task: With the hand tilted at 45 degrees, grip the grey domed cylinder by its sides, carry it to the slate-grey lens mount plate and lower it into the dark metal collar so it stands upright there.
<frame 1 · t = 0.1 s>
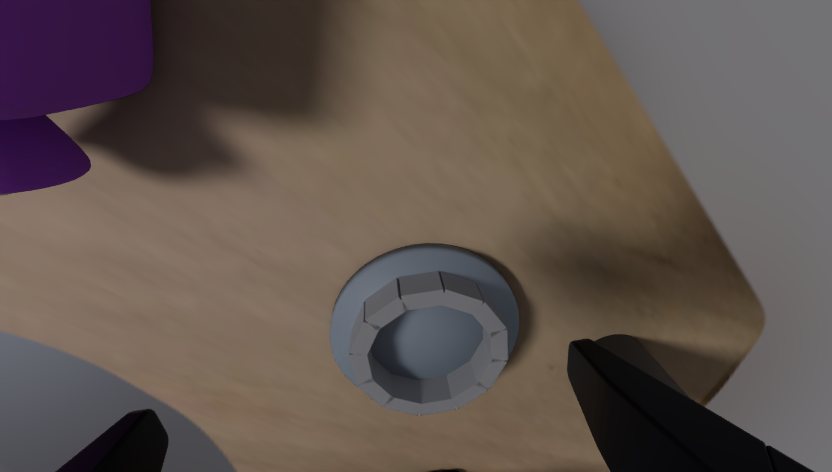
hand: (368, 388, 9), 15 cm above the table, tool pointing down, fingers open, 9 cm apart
grey domed cylinder: (609, 362, 30), on the table
toy camera: (53, 3, 17), on the table
lens mount: (424, 325, 27), on the table
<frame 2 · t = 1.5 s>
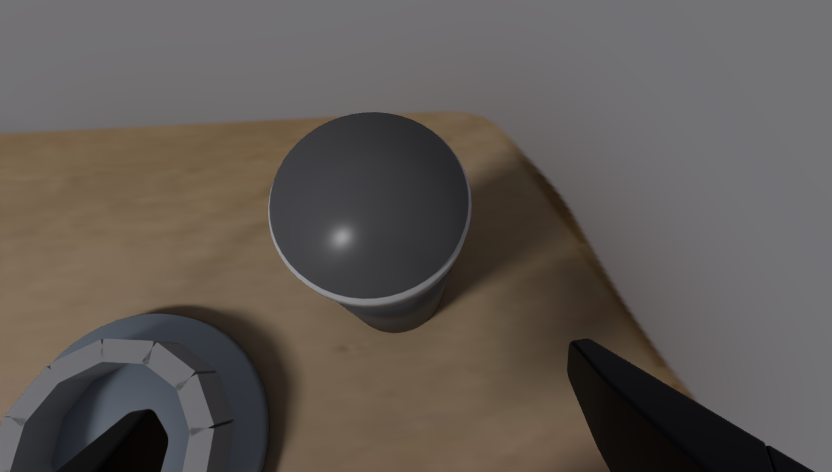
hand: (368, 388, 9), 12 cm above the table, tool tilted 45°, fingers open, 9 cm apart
grey domed cylinder: (395, 283, 22), on the table
lens mount: (146, 439, 20), on the table
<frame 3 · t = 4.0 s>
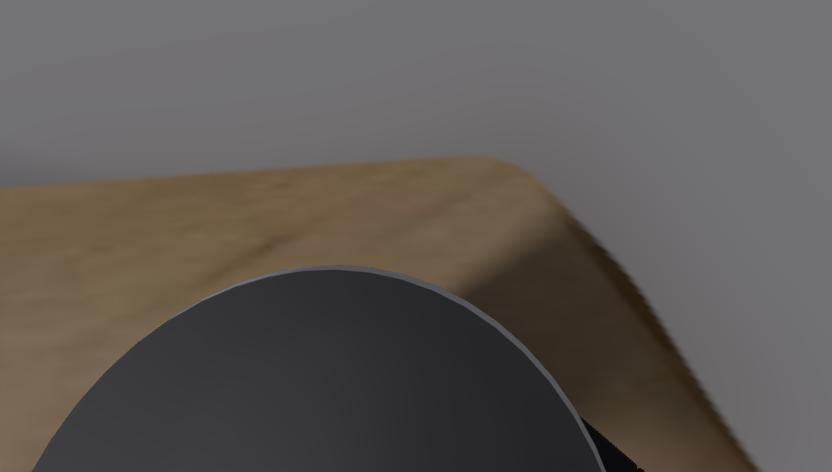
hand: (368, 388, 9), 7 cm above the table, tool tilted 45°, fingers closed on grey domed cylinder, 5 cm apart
grey domed cylinder: (395, 424, 15), on the table, touching gripper
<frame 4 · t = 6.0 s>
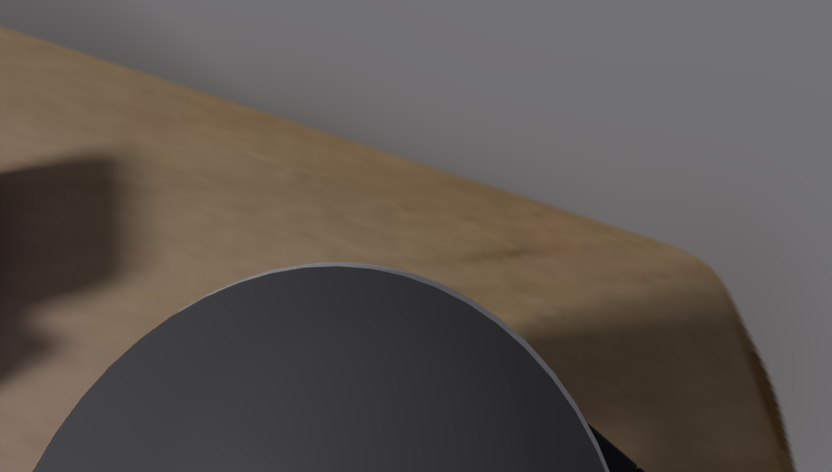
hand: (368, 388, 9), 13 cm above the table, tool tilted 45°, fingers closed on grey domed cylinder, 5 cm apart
grey domed cylinder: (395, 422, 15), point 7 cm above the table, touching gripper
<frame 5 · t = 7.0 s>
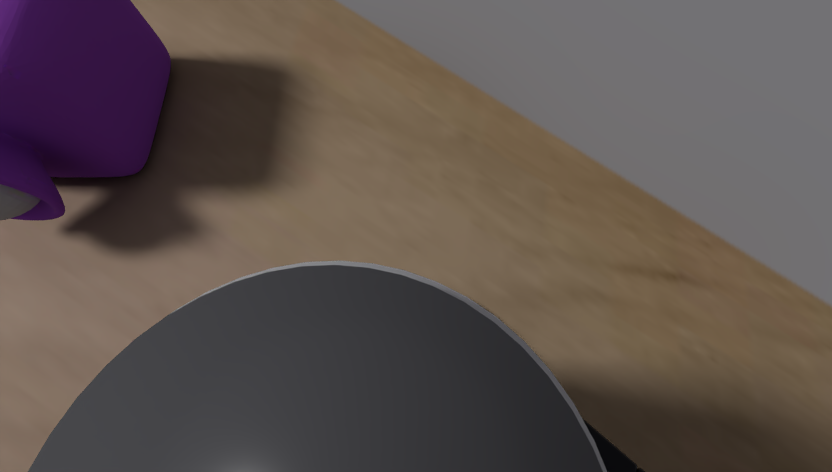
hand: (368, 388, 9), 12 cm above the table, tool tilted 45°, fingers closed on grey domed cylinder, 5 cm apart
grey domed cylinder: (394, 422, 15), point 6 cm above the table, touching gripper
toy camera: (94, 141, 25), on the table
when the fingers open (9 cm above the table, at t = 8.1 s): grey domed cylinder drops 1 cm, resting on lens mount.
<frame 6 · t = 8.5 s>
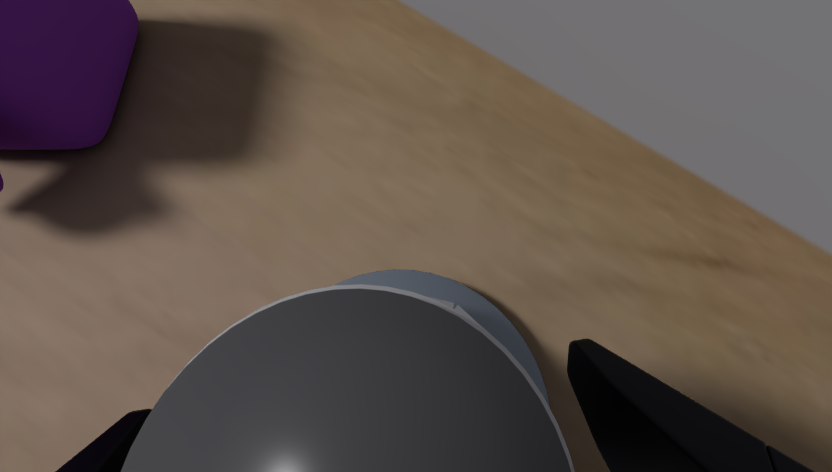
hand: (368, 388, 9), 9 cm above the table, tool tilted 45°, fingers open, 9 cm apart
grey domed cylinder: (396, 420, 16), point 1 cm above the table, touching lens mount
toy camera: (50, 111, 22), on the table
lens mount: (398, 417, 17), on the table
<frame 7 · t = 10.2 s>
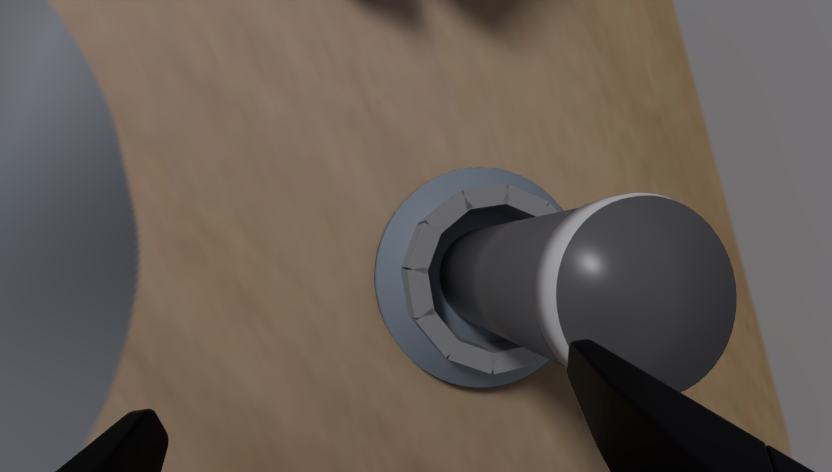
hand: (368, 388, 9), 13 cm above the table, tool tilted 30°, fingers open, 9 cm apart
grey domed cylinder: (485, 275, 22), point 1 cm above the table, touching lens mount
lens mount: (479, 275, 23), on the table
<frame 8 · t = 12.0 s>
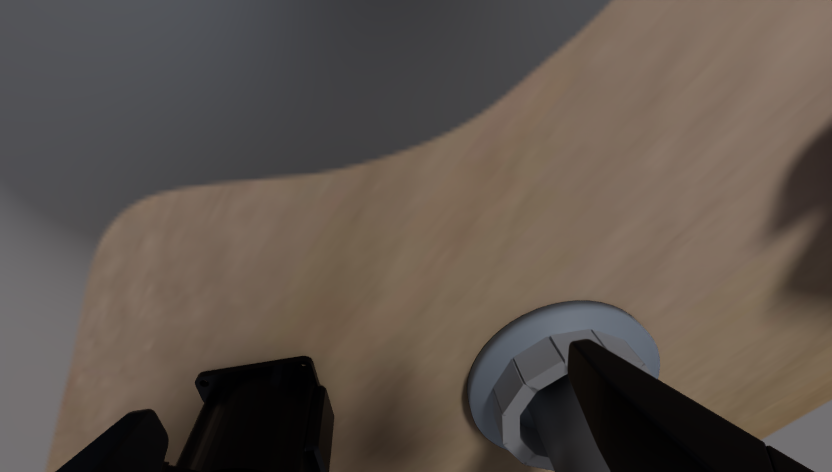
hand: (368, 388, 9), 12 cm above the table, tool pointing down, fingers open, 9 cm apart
grey domed cylinder: (565, 390, 25), point 1 cm above the table, touching lens mount
lens mount: (559, 378, 26), on the table
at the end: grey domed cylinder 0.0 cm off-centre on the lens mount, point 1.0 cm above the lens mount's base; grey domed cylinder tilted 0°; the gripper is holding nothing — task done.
